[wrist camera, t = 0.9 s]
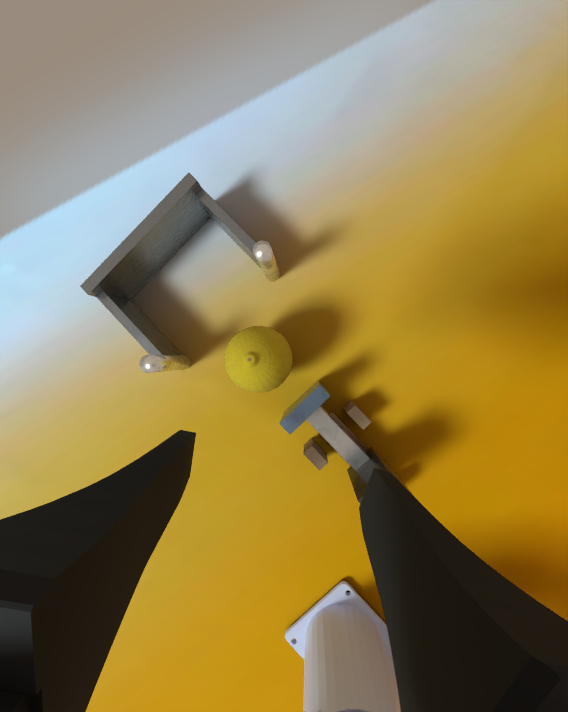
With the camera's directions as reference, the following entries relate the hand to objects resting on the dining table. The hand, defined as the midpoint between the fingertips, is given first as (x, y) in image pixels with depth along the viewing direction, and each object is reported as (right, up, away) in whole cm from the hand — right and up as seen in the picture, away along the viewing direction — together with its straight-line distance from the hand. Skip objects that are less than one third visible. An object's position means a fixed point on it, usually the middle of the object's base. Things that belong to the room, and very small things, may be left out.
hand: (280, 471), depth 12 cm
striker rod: (+5, -3, +16) cm, 17 cm away
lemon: (-2, +4, +17) cm, 18 cm away
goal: (-9, +11, +18) cm, 23 cm away
